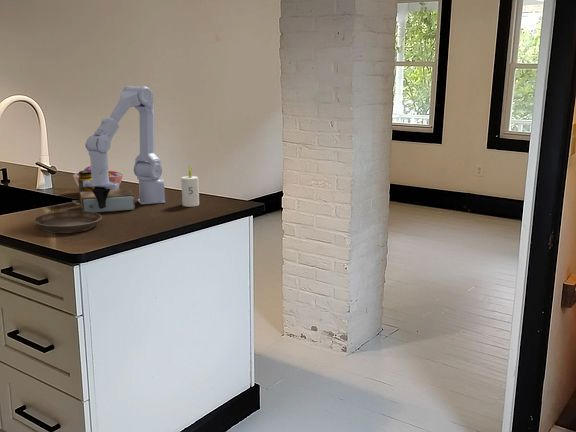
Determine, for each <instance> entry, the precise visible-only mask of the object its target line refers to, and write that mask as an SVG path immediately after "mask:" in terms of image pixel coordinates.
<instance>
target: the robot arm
mask: <svg viewBox="0 0 576 432" xmlns="http://www.w3.org/2000/svg"><path fill="white" fill-rule="evenodd" d="M119 97H120V98H119V99H118V101H117V103H116V105H115V106H114V108H113V110H112V112H111V114H110V115H109V117H105V118H103V119H102V120H101V121H100V124H99V126H98V127H97V129H96V130H95V131H94V133H93V135H90V136H89V137H88V138H86V141H85V144H84V145H85V148H86V150H87V152H88V156H89V160H90V166H91V175H92V181H90V180H86V181H83V186H84V187H86V186H88V187H95V188H94V189H92V192H93V193H94V195H95V196H96V198H97V201H98V204H99V208H100V209H102V208H106V199H107V196H108V193H109V191H110V189H113V190H120V185H119V184H117V183H113V182H109V174H108V171H109V164H108V162H109V161H108V151H109V150H110V148H111V143H112V139H113V138H114V136H115V134H116V133H117V131H118V130H119V128H120V127H119V126H120V125H119V122H120V121H121V120H122V119H123V117H124V116H125V114H126V113H127V112H128V110H130V108H133V107H134V108H135V110H137V111H138V112H139V154H138V155H137V156H136V157H135V159H134V166H133V174H134V176H136V178H137V180H138V190H139V191H138V192H139V198H138V199H137V202H138V203H139V204H140V205H151V204H163V203H166V192H165V191H166V190H165V189H166V188H165V181H164V179H163V178H160V177H161V176H162V174H163V168H162V165H161V159H160V158H159V156H157V155H156V153H155V151H156V150H155V148H156V147H155V145H156V144H155V143H156V142H155V141H156V140H155V104H154V92H153V90H151V88H149V87H148V86H145V85H144V86H136V85H135V86H134V85H133V86H131V85H126V86H125V87H123V88H122V90H121V92H120V93H119Z"/></svg>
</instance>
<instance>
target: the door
mask: <svg viewBox="0 0 576 432" xmlns="http://www.w3.org/2000/svg"><path fill="white" fill-rule="evenodd" d="M133 201H134V202H135V196H134V197H133V196H130V197H115V198H107V199H106V208H102V209H100V208H99V204H98V201H97V199H85V200H83V202H84V211H87V212H97V213H104V212H103V211H110V212H118V211H117V210H123V211H131V210H130V209H134V208H135V209H136V205H135V204H134V205H133Z"/></svg>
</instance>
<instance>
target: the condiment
mask: <svg viewBox="0 0 576 432" xmlns="http://www.w3.org/2000/svg"><path fill="white" fill-rule="evenodd" d="M78 173H79V179H78V182H79V186H78V192H79V193H78V194H79V199H78V200H76V199H75V200H72V202H73V203H74V204H75V205H77V206H79V205H80V206H81V204H80V203H81V195H80V192H90V191H92V189H94V188H95V187H88V186H86V187H84V186H83V181H86V180H90V181H92V175H91V170H85V171H84V170H79V172H78Z"/></svg>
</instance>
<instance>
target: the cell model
mask: <svg viewBox="0 0 576 432" xmlns="http://www.w3.org/2000/svg"><path fill="white" fill-rule="evenodd" d="M85 170H91V165H90V166H87V167H85V168H84V169H83V171H85ZM108 174H109V182H113V183H117V184H119V186H120V185H121V182H122V179H123V177H124V175H123V174H122V173H121V172H119V171H114V170H108ZM72 176H73V178H74V180H75V183H76V184H77V186H78V187H79V182H78V179H79V172H76V173H74V174H73V175H72ZM110 190H113V189H110Z"/></svg>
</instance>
